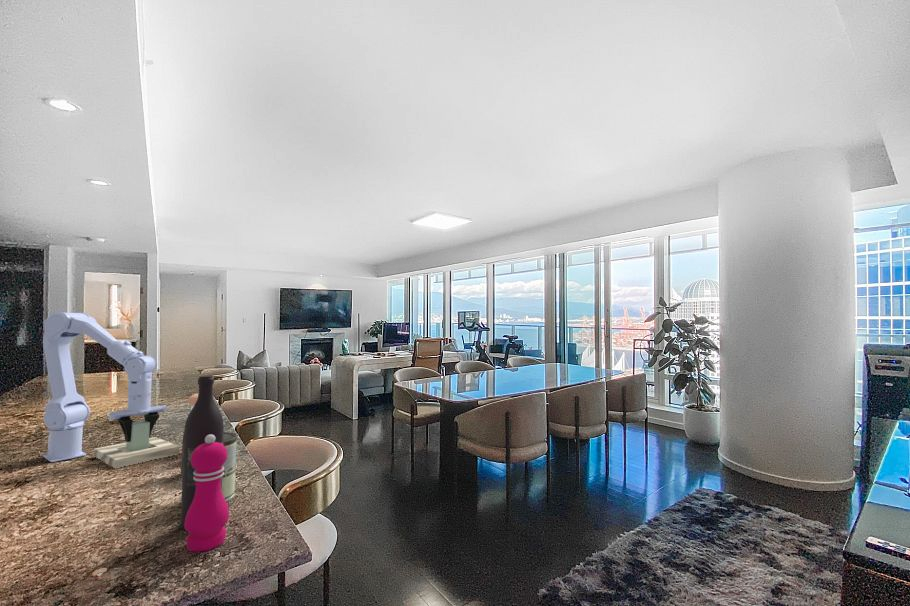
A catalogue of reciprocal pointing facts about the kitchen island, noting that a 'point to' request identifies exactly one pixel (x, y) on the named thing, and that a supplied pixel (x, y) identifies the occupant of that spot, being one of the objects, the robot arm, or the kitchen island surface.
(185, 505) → the wine bottle
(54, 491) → the kitchen island surface
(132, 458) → the board with square hole
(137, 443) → the peg
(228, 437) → the coffee can
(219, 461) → the pepper mill
